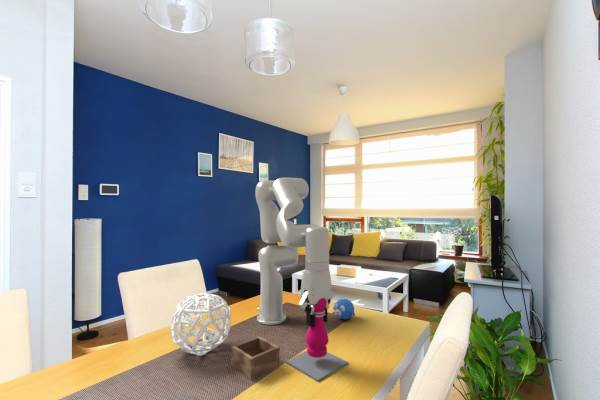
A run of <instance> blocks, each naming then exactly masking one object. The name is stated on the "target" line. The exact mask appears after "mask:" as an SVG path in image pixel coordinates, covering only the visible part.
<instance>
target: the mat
mask: <svg viewBox="0 0 600 400" xmlns="http://www.w3.org/2000/svg"><path fill="white" fill-rule="evenodd" d="M285 364H286V365H288V366H290V367H292V368H293V369H295V370H297V371H298V372H301V373H302V374H304V375H305V376H307V377H308V378H310V379H312V380H314V381H315V382H320V381H322V380H324V379H326V378H327V377H329V376H330V375H332V374H334V373H335V372H337V371H339V370H341V369H342V368H344V367H346V366H347V365H349V361H346V360H345V359H343V358H340V357H339V356H337V355H334V354H332V353H330V352H329V351H327V354H326V355H325V356H324V357H320V358H315V357H311V356H309V355H308V354H307V350H306V351H304V352H301V353H300V354H297V355H295V356H294V357H291V358H289V359H287V360H285Z"/></svg>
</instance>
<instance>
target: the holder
mask: <svg viewBox="0 0 600 400" xmlns="http://www.w3.org/2000/svg"><path fill="white" fill-rule="evenodd" d="M280 348H281V347H280V346H278V345H277V344H275V343H273V342H271V341H269V340H267V339H266V338H263V337H262V336H255V337H254V338H250V339H248V340H245V341H243V342H240V343H237V344H234V345H231V363H230V365H231V367H233V368H234V369H235V370H236V371H237V372H239V373H241V374H242V376H244V377H246V378H247V379H249V380H250V381H253V380H254V379H256V378H260V377H261V376H263V375H265V374H268V373H270V372H271V371H273V370H276V369H278V368H280V366H281V364H280V359H281V358H280V357H281V356H280V355H281V354H280V353H281V352H280V350H281V349H280Z"/></svg>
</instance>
